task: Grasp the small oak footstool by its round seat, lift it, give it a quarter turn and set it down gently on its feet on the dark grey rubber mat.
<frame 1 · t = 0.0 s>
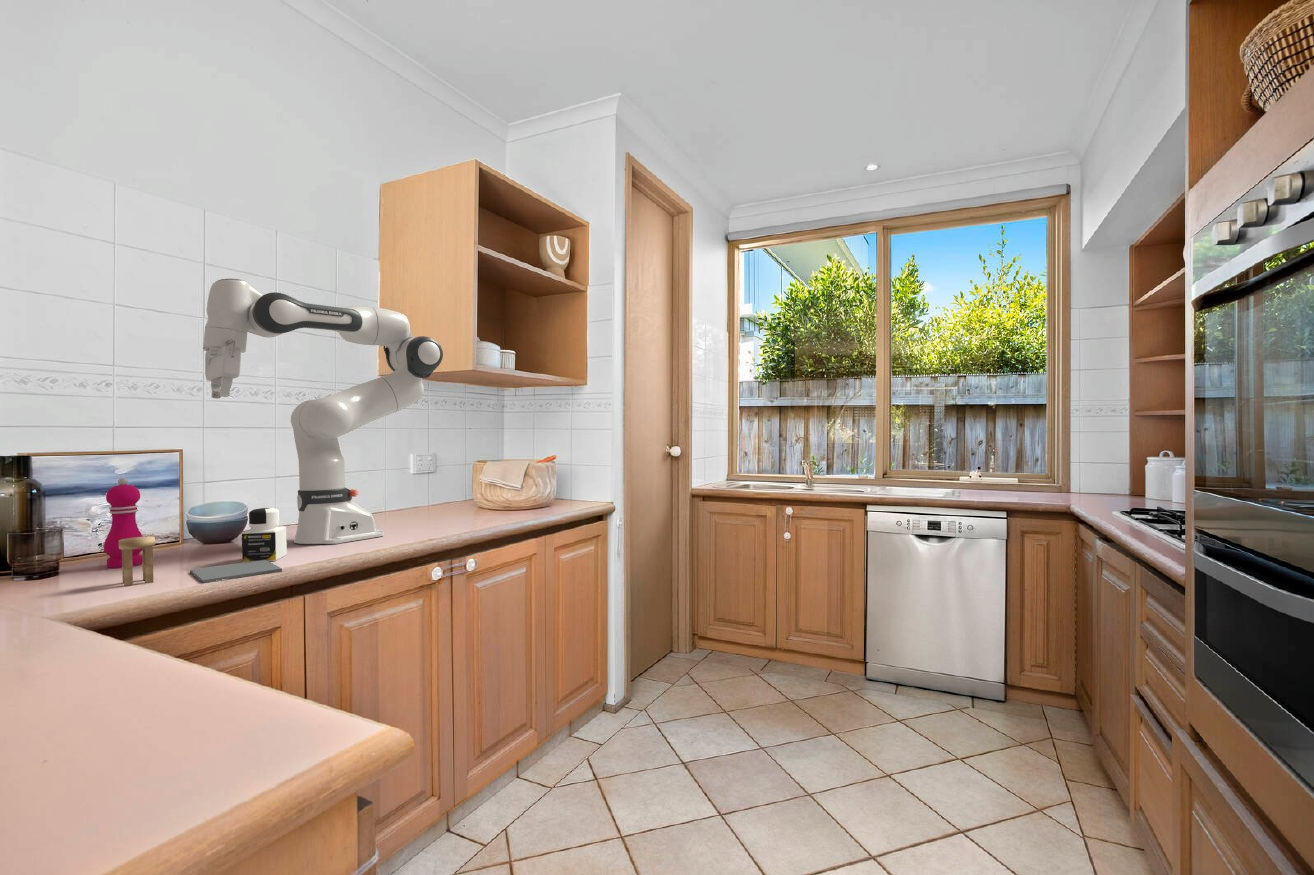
hand: (219, 397, 157), 39 cm above the worktop, tool pointing down, fingers open, 8 cm apart
mat: (236, 571, 135), on the worktop
stool: (138, 582, 127), on the worktop
pepper mill: (125, 566, 144), on the worktop
medicine bottle: (265, 560, 149), on the worktop
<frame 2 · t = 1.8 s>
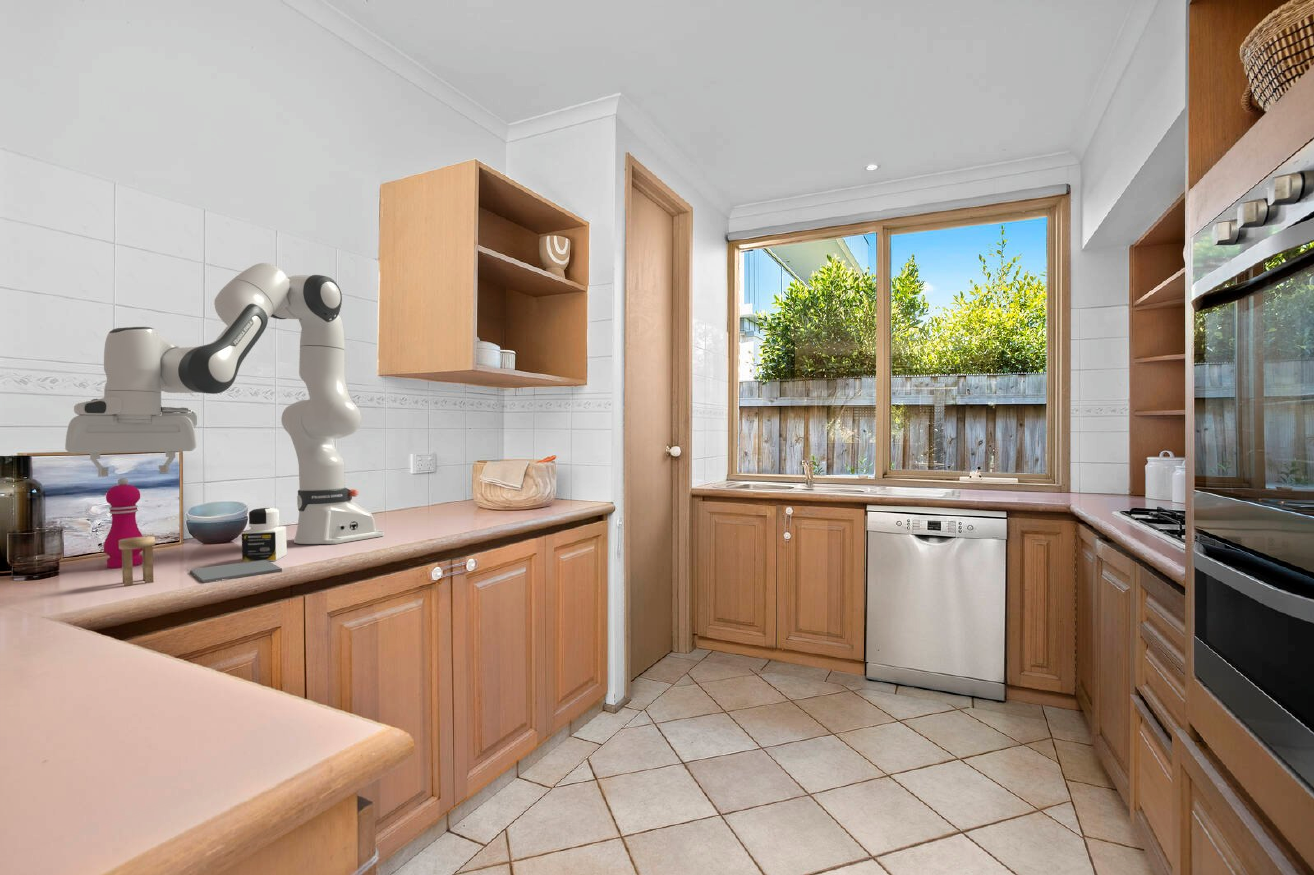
hand: (134, 475, 127), 22 cm above the worktop, tool pointing down, fingers open, 8 cm apart
nothing on the worktop moved.
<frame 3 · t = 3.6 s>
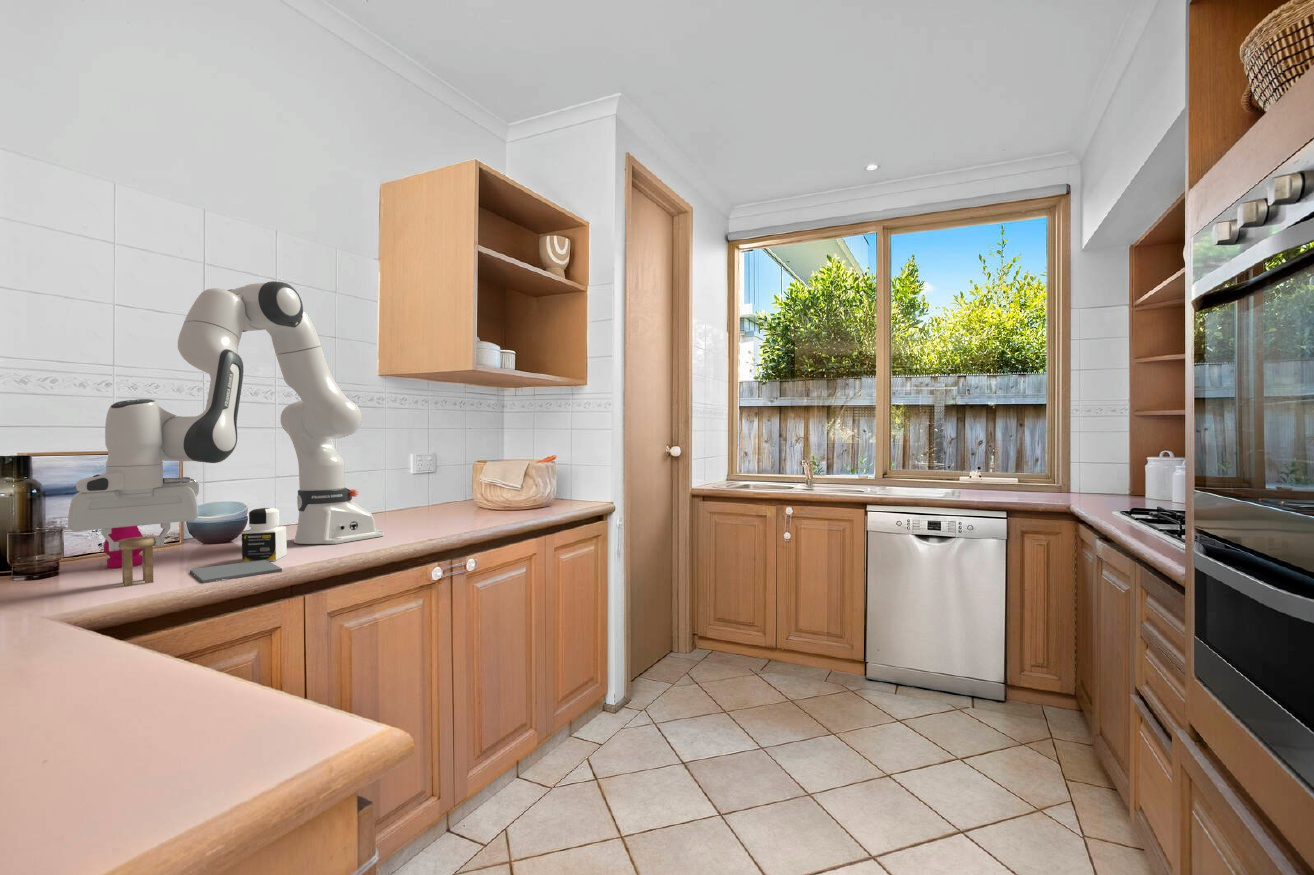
hand: (137, 548, 127), 7 cm above the worktop, tool pointing down, fingers closed on stool, 6 cm apart
stool: (138, 582, 127), on the worktop, touching gripper
everything else where it was.
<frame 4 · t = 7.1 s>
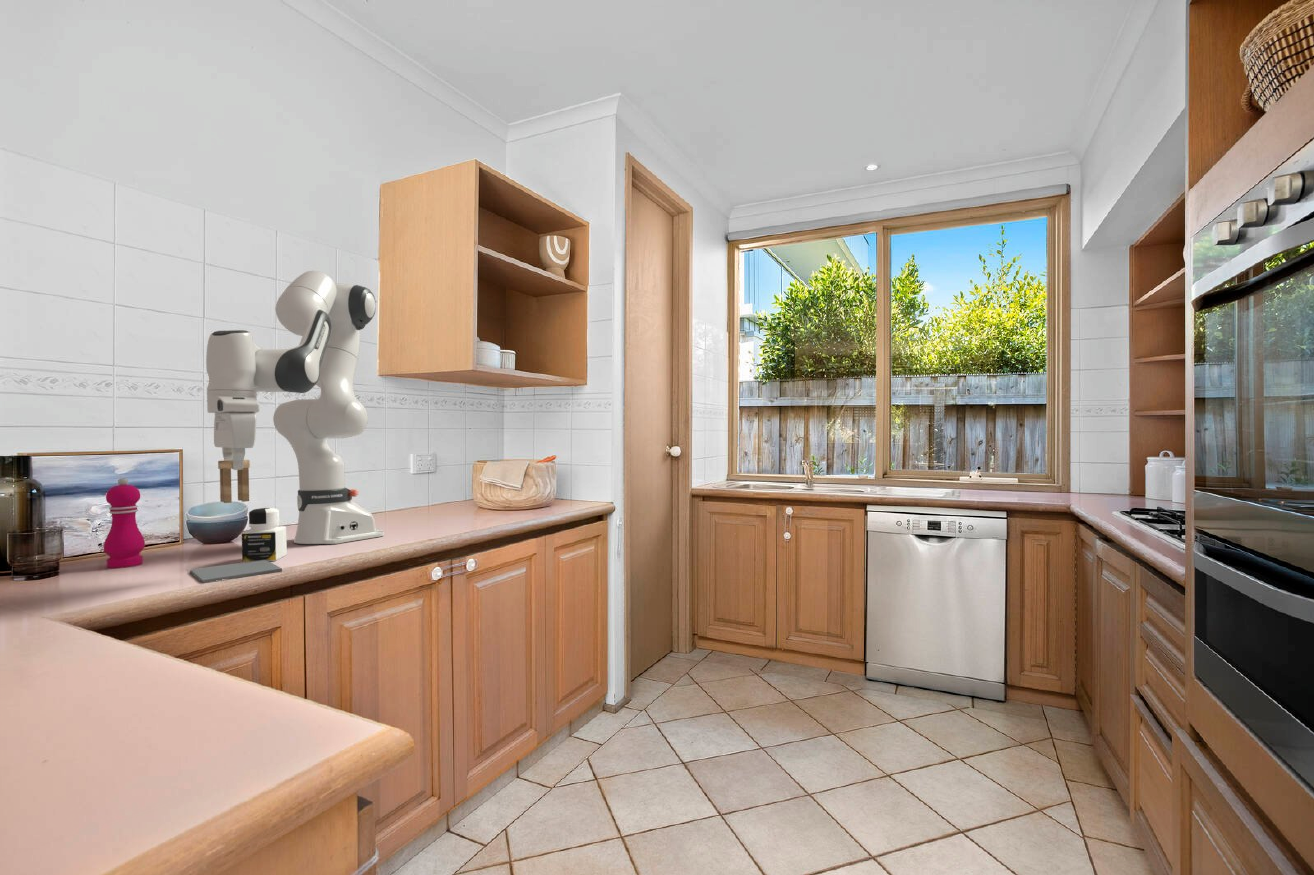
hand: (233, 469, 135), 22 cm above the worktop, tool pointing down, fingers closed on stool, 6 cm apart
stool: (234, 501, 135), point 15 cm above the worktop, touching gripper
everything else where it was.
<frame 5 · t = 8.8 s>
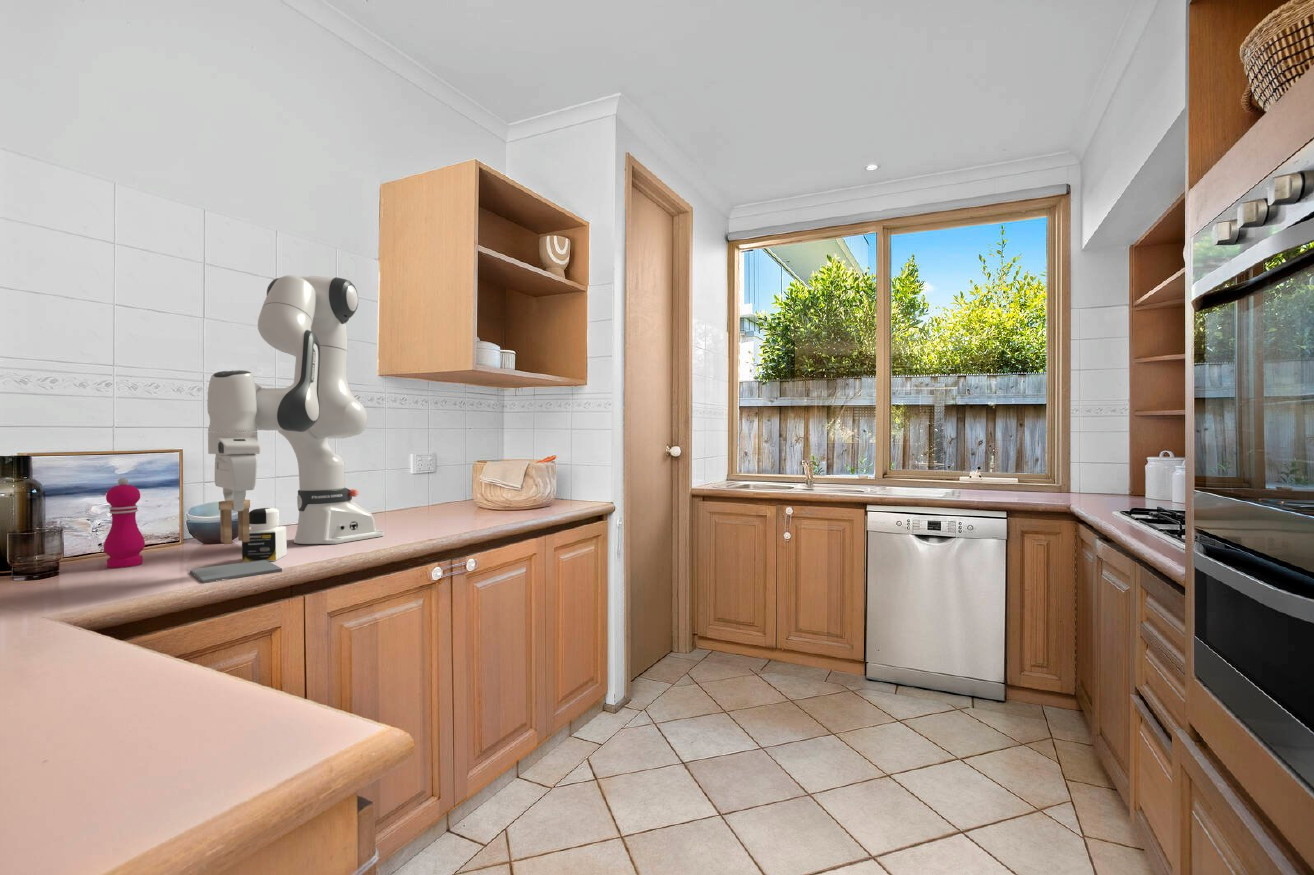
hand: (234, 509, 135), 13 cm above the worktop, tool pointing down, fingers closed on stool, 6 cm apart
stool: (235, 541, 135), point 7 cm above the worktop, touching gripper
everything else where it was.
when the fingers open (8 cm above the worktop, at t = 10.6 s): stool stays where it is, resting on mat.
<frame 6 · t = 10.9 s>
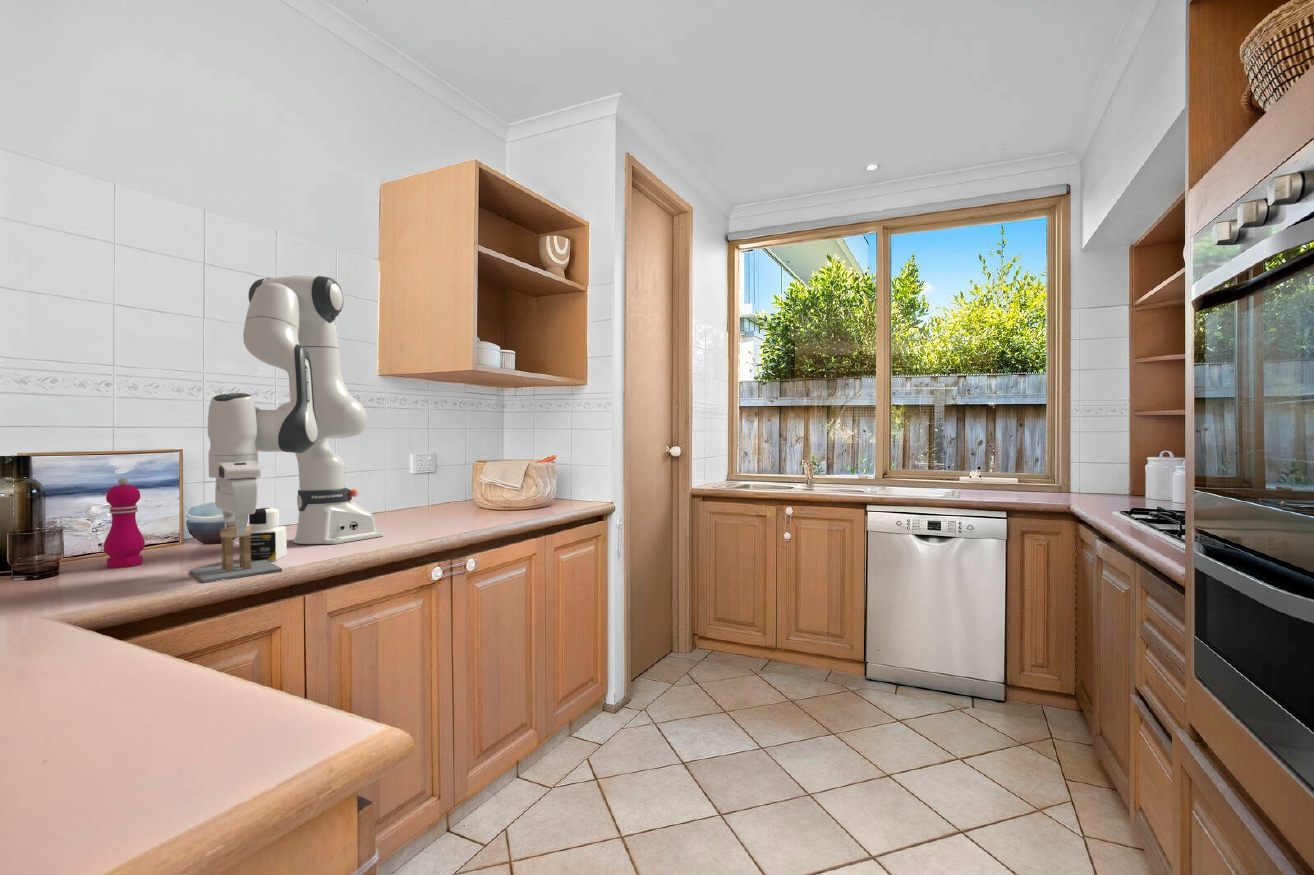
hand: (235, 532, 135), 8 cm above the worktop, tool pointing down, fingers open, 8 cm apart
stool: (236, 568, 136), point 1 cm above the worktop, touching mat
everything else where it was.
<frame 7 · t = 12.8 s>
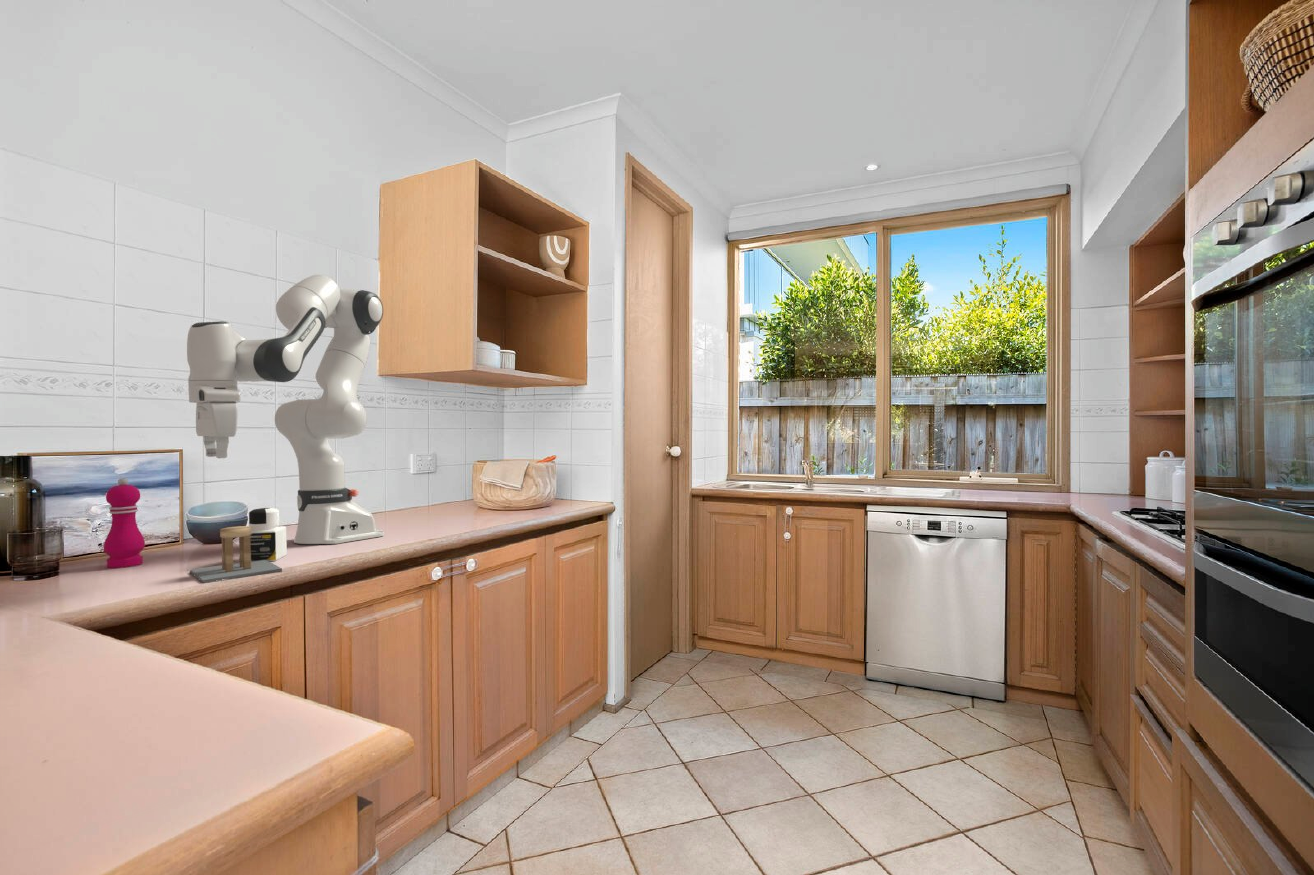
hand: (216, 457, 139), 25 cm above the worktop, tool pointing down, fingers open, 8 cm apart
nothing on the worktop moved.
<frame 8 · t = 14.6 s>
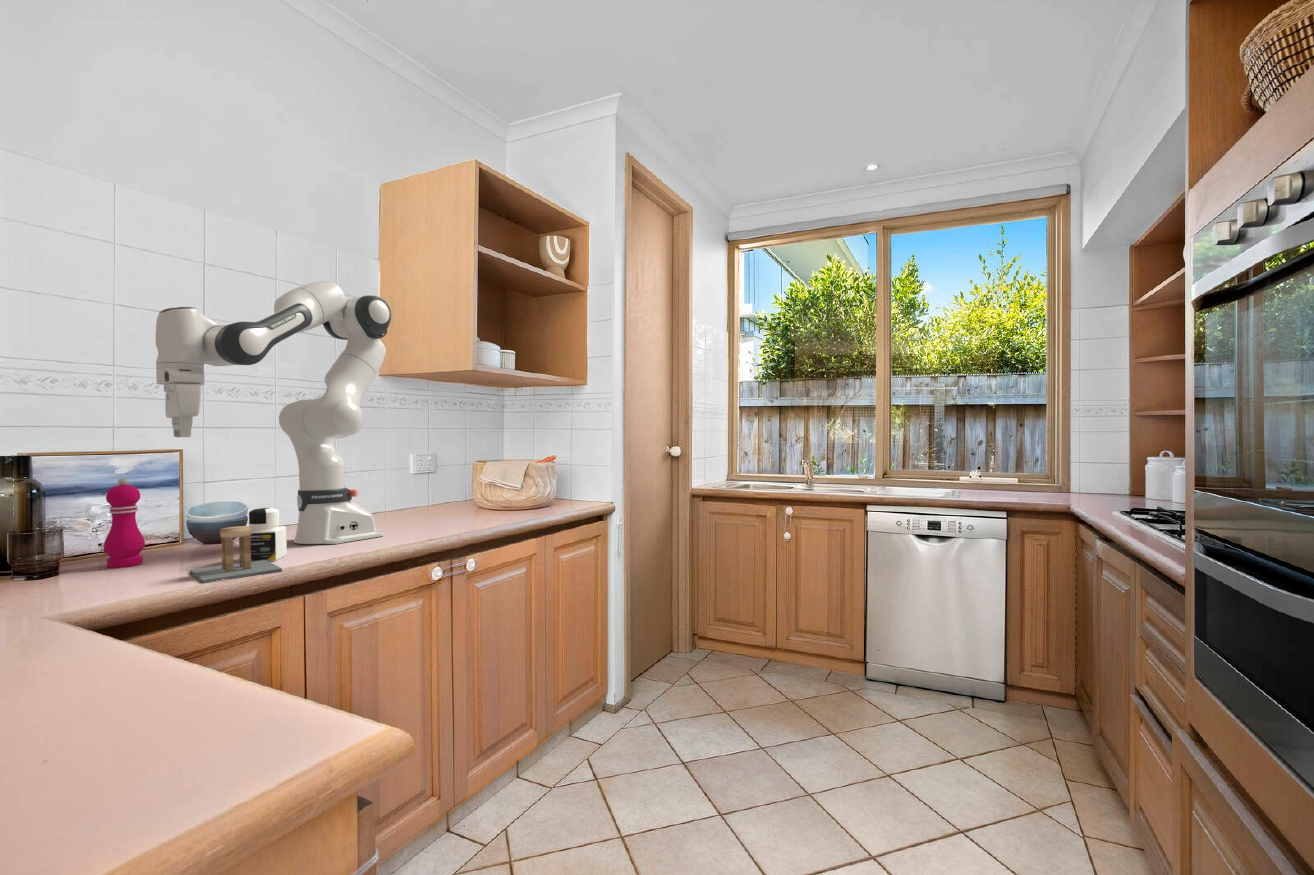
hand: (182, 437, 145), 29 cm above the worktop, tool pointing down, fingers open, 8 cm apart
nothing on the worktop moved.
at the end: stool inside the target area on the mat (0.1 cm from its centre), point 0.6 cm above the mat's base; stool tilted 0°; the gripper is holding nothing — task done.
